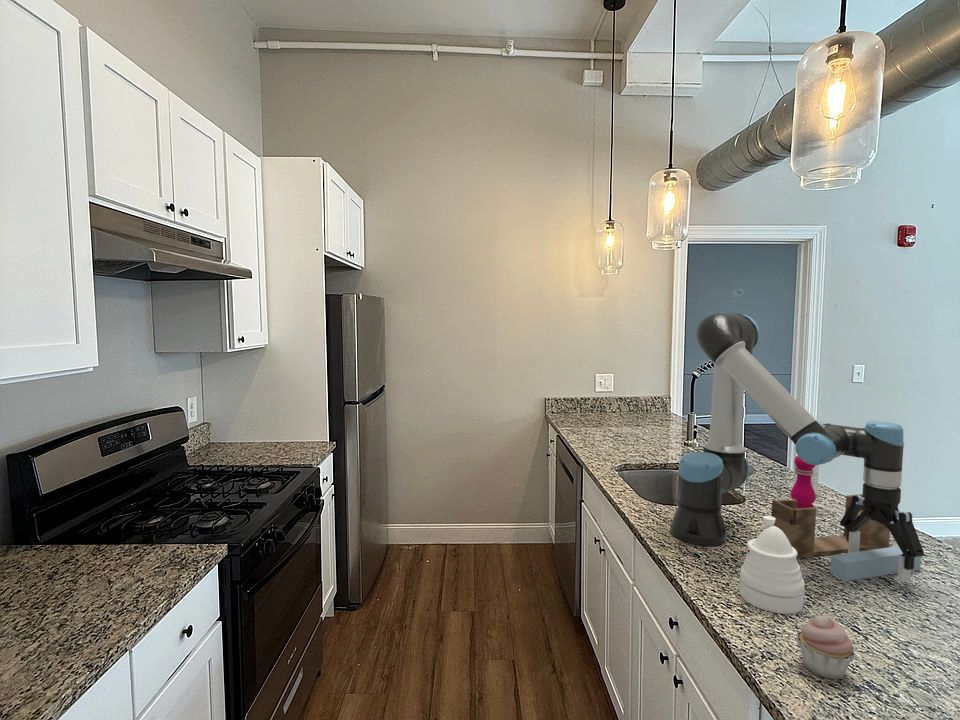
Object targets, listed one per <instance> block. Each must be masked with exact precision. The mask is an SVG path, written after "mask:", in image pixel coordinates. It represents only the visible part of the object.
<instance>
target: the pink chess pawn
mask: <svg viewBox="0 0 960 720" xmlns="http://www.w3.org/2000/svg"><path fill="white" fill-rule="evenodd" d="M796 456H798V455H797V453H796V454H795V455H794V459H795V458H796ZM793 467H794V470H793V484H792V485H793V486H794V485H795V483H796V481H797V473H796V468H797V466H796V465H795V464H794V466H793ZM812 470H813V475H812V476H811V484H812V487H813V489H814V491H815V494H816V497H817V496H818V486H819V471H820V465H815V467H814V468H813V469H812Z"/></svg>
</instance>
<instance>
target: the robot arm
mask: <svg viewBox="0 0 960 720" xmlns="http://www.w3.org/2000/svg"><path fill="white" fill-rule="evenodd" d="M695 338H696V341H697V344H698V346H699V347H700V349H701V351H702V352H703V353H704V354H705V355H706V356H707V358H708V359H709V360H710V361H711V362H712V363H713V374H712V375H713V376H712V377H713V378H712V393H711V406H710V407H711V408H710V409H711V410H710V423H709V439H708V440H707V441H705V443H704V444H703V447H702V448H703V449H702V451H697V452H689V453H686V454H684V455H683V456H681V458H680V460H679V465H678V481H677V482H678V485H677V486H678V487H677V489H678V491H677V494H678V495H677V507H676V510H675V513H674V515H673V518H672V520H671V523H670V534H671V535H672V536H674V537H675V538H676V539H678V540H680V541H682V542H684V543H688V544H690V545H691V544H693V545H698V546H705V547H707V546H709V547H711V546H712V547H714V546H720V545H722V544H724V543H726V542H727V535H728V533H727V529H726V524H725V522H724V519H723V514H722V495H723V494H726V493H728V492H730V491H733V490H736V489H738V488H739V487H741V486H742V485H743V484H744V483H745V482H747V480H748V479H749V475H750V471H751V468H750V467H751V466H750V462H749V460H748V459H747V458H746V448H745V447H744V446H743V445H742V443H741V436H742V435H741V434H742V423H743V421H742V420H743V409H744V395H745V392H746V393H747V394H748V396H749V397H750V398H751V399H752V400H753V401H754V402H755V404H757V405H758V406H759V407H760V409H761V410H762V411H764V412H765V414H766V415H767V416H768V417H769V418H770V419H771V420H772V421H773V422H774V423H775V424H776V425H777V426H778V428H779V429H780V430H781V431H782V432H783V433H784V434H785V435H786V436H787V437H788V438H789V440H791V441H792V443H793V444H794V445H795V447H794V448H795V453H796V454H797V455H798V456H799V458H800V459H801V460H802V461H804V462H806V463H808V464H811V465H819V466H820V465H822V464H823V465H824V464H827V463H830V462H831V461H833V460H835V459H836V458H838V457H840V456H847V457H854V458H858V459H859V458H861V459H863V461H864V462H863V475H862V480H863V482H864V483H863V484H862V493H861V494H862V495H860V494H858V495H859V496H853V497H852V503H851V505H850V506H849V508H848V510H847V511H846V513H845V512H844V515H843V517H842V518H841V520H840V521H839V523H840V525H841V527H844V526H845V527H846V530H847V542H849V544H848V553H852V552H859V550H860V532H859V531H856V530H859V528H860V527H861V526H862V525H864V524H865V523H866V522H867V521H869V520H870V519H871V520H874V521H878V522H879V523H881V524H884V525H885V527H886V528H888V529H889V531H890V535H891V536H892V537H893V540H894V541H895V542H896V544H897V546H899V548H900V549H901V551H902V553H903V554H899V569H898V573H897V574H898V575H897V582H900V583H904V582H911V575H912V571H911V570H913V569H914V558H915V557H920V556H921V557H924V556H925V552H924V549H923V546H922V544H921V542H920V539H919V536H918V533H917V531H916V529H915V526H914V523H913V514H912V513H911V512H909V511H908V512H904V511H900V510H899V504H901V501H902V500H901V498H902V497H901V495H902V489H901V488H900V487H901V486H902V476H903V461H904V460H903V459H904V448H905V442H904V427H902V426H901V425H900V424H898V423H896V422H895V423H894V422H891V421H890V422H889V421H878V420H872V421H868V422H866V424H865V426H864V427H855V426H854V427H853V426H846V425H840V424H839V425H838V424H832V423H829V422H828V423H827V422H826V423H822V422H821V423H820V422H818V421H817V419H816V418H814V416H813V415H811V414H810V413H809V411H807V409H806V408H805V407H804V406H803V405H802V404H801V403H800V402H799V401H798V400H797V399H796V398H795V397H794V396H793V395H792V394H791V393H790V392H789V391H788V390H787V389H786V388H785V387H784V386H783V385H782V384H781V383H780V382H779V381H778V380H777V379H776V378H775V377H774V376H773V375H772V374H771V373H770V372H769V371H768V370H767V369H766V367H764V366H763V365H762V364H761V363H760V361H758V360H757V358H755V356H753V351H754V348H755V347H756V346H757V344H758V343H759V341H760V338H761V331H760V327H759V325H758V323H757V322H756V321H755V320H754V319H753V318H752V317H750V316H748V315H747V314H743V313H739V312H738V313H737V312H731V313H729V312H727V313H726V312H725V313H724V312H717V313H716V312H715V313H711V314H709V315H707V316H706V317H704V318H703V319H702V320H701V321H700V322H699V323H698V326H697V328H696V333H695ZM863 505H864V507H865V510H864V511H863V512H861V513H860V515H859V516H858V517H857V518H856V516H857V515H858V513H859V511H860V510H861V508H862V506H863ZM855 518H856V519H855ZM854 519H855V520H854ZM907 549H908V550H907Z"/></svg>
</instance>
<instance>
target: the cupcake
mask: <svg viewBox="0 0 960 720" xmlns="http://www.w3.org/2000/svg"><path fill="white" fill-rule="evenodd" d="M796 636H797V637H795V640H796V642H797V645H798V647H799V649H800V653H801V658H802V662H803V665H804V666H805V667H806V669H808V671H810V672H812V673H813V674H815V675H817V676H819V677H822V678H825V679H829V680H839V679H843V677H844V676H845V675H846V672H847V670H848V668H849V666H850V664H851V662H852V661H853V660H854V659H855V658H856V657H857V654H856V653H855V651H856V647H855V646H853V641H852V640H851V638H850V637H849V636H848V634H847V632H846V630H845V629H844V628H843V627H842V626H841V624H839V623H837V622H836V621H835V620H834V619H832V618H831V617H830V616H829V615H818V616H816V617H814V618H812V620H808V621H807V622H806V623H805V624H804V625H803V626H802V627H801V631H800V630H799V631H797V632H796Z"/></svg>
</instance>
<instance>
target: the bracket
mask: <svg viewBox="0 0 960 720" xmlns="http://www.w3.org/2000/svg"><path fill="white" fill-rule="evenodd" d="M862 494H863V493H861V494H849V495H846V496H845V510H844V514H845V513H846V511H847V510H848V508H849V506H850V505H851V503H852V497H853V496H859V495H862ZM864 510H865V507H864V505H863V506H862V508H861V510H860V511H859V513H858V515H857V516H856V518H857V517H858V516H859V515H860V513H861V512H863V511H864ZM771 516H772V517H774V518H775V519H776V520H775V523H774V524H773V525H774V526H775V527H778V528H779V529H781V530H782V531H783V533H784V534H785V535H786V537H787V539H788V540H789V542H790V544H791V546H792V547H793V548H794V549H796V551H797V553H798V554H797V557H796V559H800V558H799V557H804V558H811V557H810V556H814V557H820V556H819V555H825V556H831V555H830V554H835V555H838V554H841V553H848V544H849V542H847V530H846V527H845V526H843V534H840V535H831V536H818V537H816V519H817V518H816V517H817V508H815V507H814V508H813V507H812V508H799V509H797V500H795V499H792V498H790V499H778V500H777V499H776V500H772V503H771ZM856 518H855V519H856ZM855 519H854V520H855ZM856 531H859V532H860V550H859V552H860V551H867V550H874V549H881V548H888V547H891V546H890V535H891V532H890V531H889V529H888V528H886V527H885V525H884V524H881V523H879V522H878V521H874V520H871V519H870V520H869V521H867V522H866V523H865V524H864V525H862V526H861V527H860V528H859V530H856Z"/></svg>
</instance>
